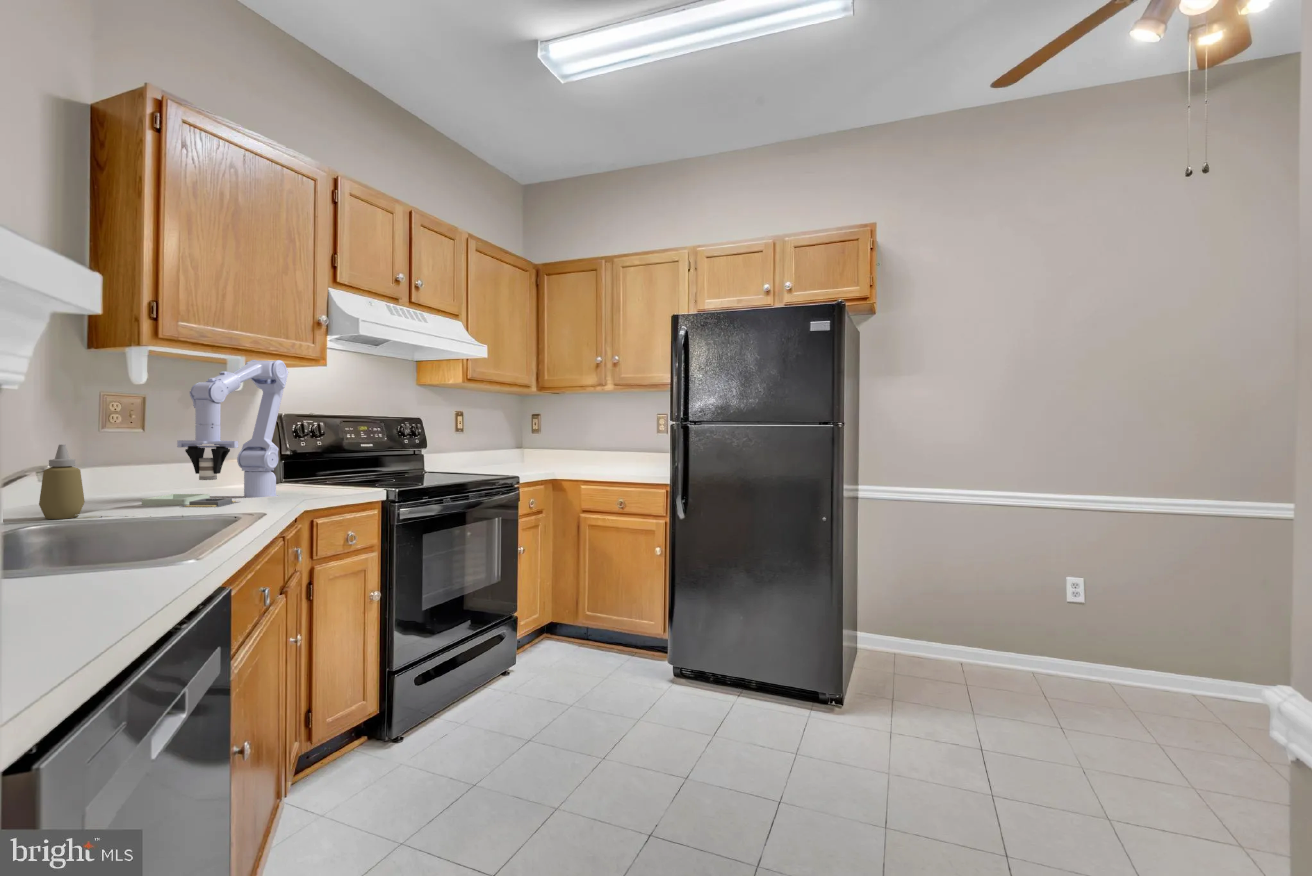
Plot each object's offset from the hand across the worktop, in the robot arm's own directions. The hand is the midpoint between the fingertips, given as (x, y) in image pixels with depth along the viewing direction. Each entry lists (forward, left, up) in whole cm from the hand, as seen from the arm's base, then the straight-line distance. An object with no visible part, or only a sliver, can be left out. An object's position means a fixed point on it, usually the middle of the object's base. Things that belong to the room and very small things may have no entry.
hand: (208, 473), depth 172 cm
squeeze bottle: (+19, -23, -10) cm, 31 cm away
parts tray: (-5, -11, -10) cm, 15 cm away
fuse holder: (+1, +1, -10) cm, 10 cm away
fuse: (0, 0, -2) cm, 2 cm away
